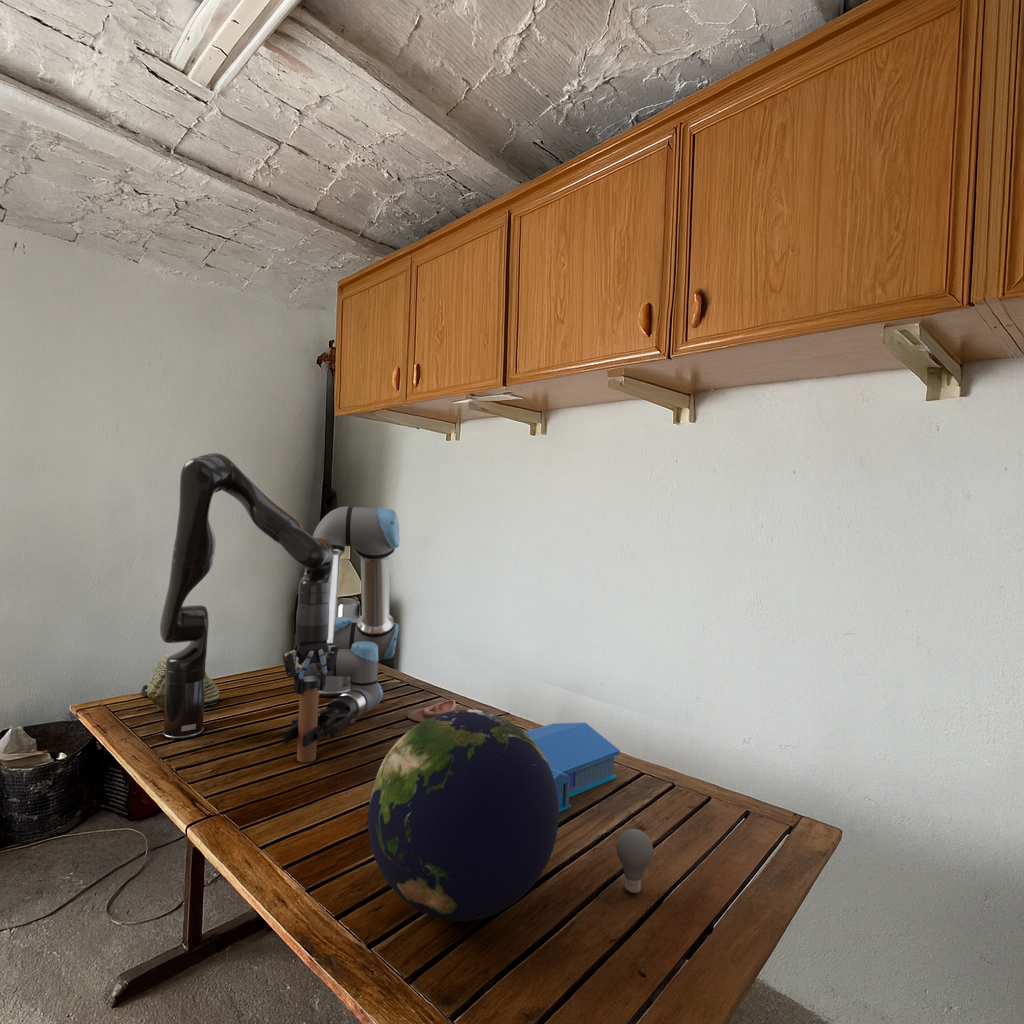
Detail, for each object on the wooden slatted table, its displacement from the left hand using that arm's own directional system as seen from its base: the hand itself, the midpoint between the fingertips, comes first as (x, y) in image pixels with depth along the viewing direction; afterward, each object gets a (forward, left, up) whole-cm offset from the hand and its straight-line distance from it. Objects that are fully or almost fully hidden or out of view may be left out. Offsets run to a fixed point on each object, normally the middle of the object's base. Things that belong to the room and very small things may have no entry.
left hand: (309, 691), depth 152 cm
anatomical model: (-6, +41, -16) cm, 45 cm away
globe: (+66, -6, -16) cm, 68 cm away
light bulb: (+82, +18, -16) cm, 86 cm away
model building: (+44, +32, -16) cm, 57 cm away
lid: (0, 0, +3) cm, 3 cm away
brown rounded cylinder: (0, 0, -16) cm, 16 cm away
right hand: (+3, -5, -10) cm, 11 cm away
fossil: (-56, -12, -16) cm, 59 cm away
